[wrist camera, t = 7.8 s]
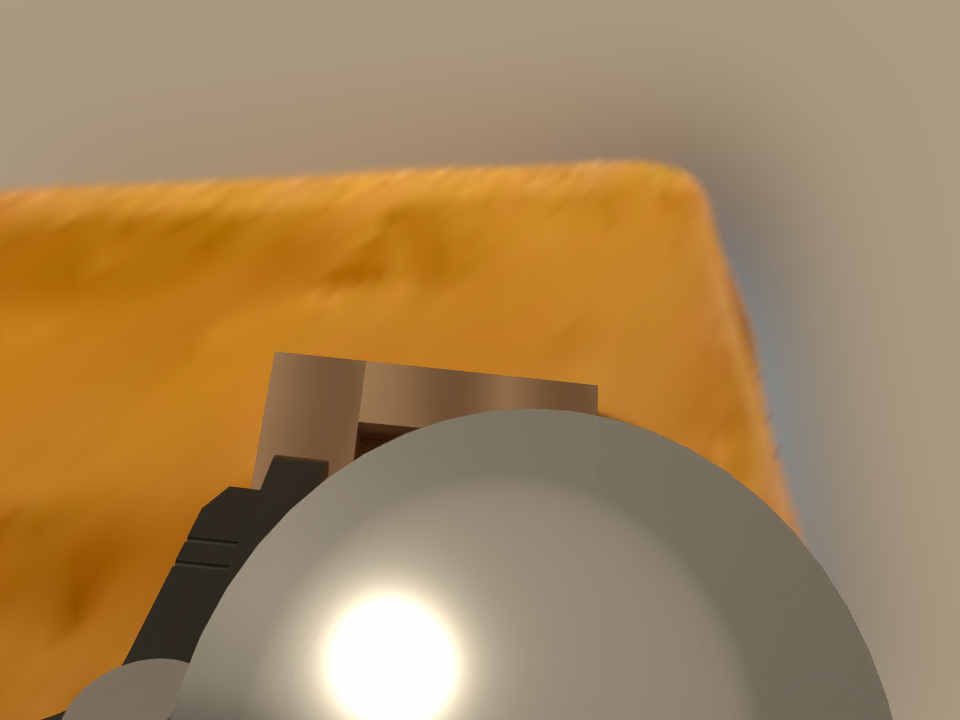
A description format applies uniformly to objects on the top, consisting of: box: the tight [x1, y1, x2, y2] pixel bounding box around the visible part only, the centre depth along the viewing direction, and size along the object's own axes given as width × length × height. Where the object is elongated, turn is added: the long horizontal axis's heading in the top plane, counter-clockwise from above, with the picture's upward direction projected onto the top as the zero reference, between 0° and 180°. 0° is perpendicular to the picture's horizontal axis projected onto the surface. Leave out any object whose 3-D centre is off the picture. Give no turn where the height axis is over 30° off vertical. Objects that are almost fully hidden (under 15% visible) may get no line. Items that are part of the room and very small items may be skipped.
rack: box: [251, 352, 598, 490], centre depth 27 cm, size 12×10×2 cm
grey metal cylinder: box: [171, 408, 892, 720], centre depth 10 cm, size 4×4×12 cm
